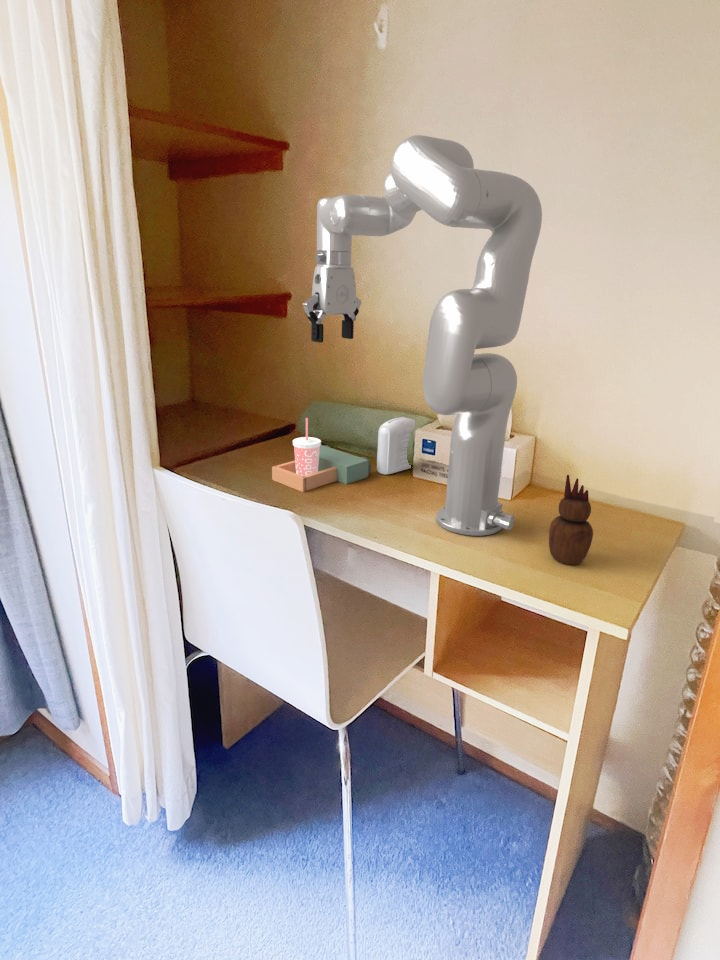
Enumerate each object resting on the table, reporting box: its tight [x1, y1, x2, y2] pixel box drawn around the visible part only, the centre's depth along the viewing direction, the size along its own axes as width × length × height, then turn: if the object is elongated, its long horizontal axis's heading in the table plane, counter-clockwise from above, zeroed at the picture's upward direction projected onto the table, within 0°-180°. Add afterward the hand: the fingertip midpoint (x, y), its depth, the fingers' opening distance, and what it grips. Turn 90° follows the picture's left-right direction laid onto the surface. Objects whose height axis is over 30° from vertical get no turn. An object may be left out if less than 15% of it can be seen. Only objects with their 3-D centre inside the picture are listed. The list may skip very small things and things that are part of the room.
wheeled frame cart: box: [271, 444, 372, 493], centre depth 138 cm, size 16×18×4 cm
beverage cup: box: [292, 417, 322, 476], centre depth 134 cm, size 6×6×14 cm
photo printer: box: [376, 416, 416, 475], centre depth 142 cm, size 10×4×12 cm, turn 134°
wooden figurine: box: [548, 474, 594, 565], centre depth 101 cm, size 7×6×15 cm
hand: (332, 340), depth 141 cm, fingers open, 9 cm apart
